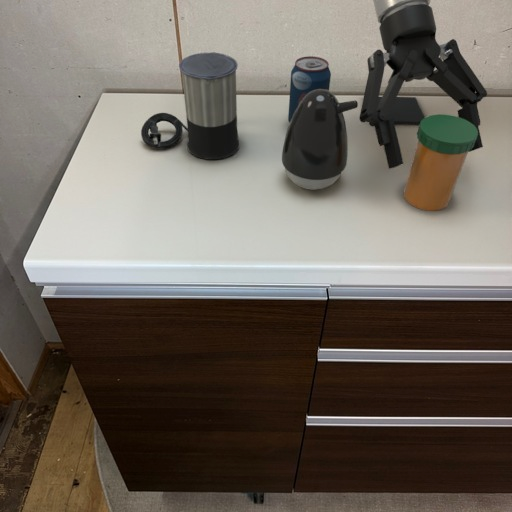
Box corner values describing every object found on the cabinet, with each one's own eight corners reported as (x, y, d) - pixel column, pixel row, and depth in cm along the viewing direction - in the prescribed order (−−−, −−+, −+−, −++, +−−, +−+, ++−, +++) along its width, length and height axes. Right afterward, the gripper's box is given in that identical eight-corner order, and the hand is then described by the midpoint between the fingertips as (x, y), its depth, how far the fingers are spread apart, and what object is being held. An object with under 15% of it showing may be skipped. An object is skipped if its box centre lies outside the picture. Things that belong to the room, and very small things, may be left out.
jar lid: (451, 121, 70) (454, 110, 69) (486, 148, 65) (490, 137, 64) (405, 130, 68) (408, 119, 67) (438, 159, 63) (441, 147, 62)
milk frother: (248, 153, 82) (247, 69, 72) (161, 176, 77) (147, 89, 67) (216, 116, 91) (212, 37, 81) (137, 135, 86) (121, 53, 76)
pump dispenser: (338, 204, 73) (353, 113, 62) (273, 192, 75) (277, 101, 64) (349, 168, 79) (364, 80, 69) (289, 157, 82) (294, 71, 71)
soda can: (300, 139, 86) (306, 74, 77) (280, 122, 90) (284, 59, 82) (331, 129, 88) (340, 66, 80) (311, 114, 92) (317, 51, 84)
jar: (432, 179, 77) (453, 115, 69) (458, 205, 73) (484, 139, 64) (394, 188, 76) (412, 123, 67) (419, 215, 71) (441, 148, 63)
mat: (414, 99, 97) (415, 97, 96) (426, 124, 90) (426, 121, 89) (366, 99, 97) (366, 96, 97) (373, 123, 90) (374, 120, 90)
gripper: (458, 19, 75) (487, 149, 76) (317, 37, 69) (349, 178, 70) (493, -8, 68) (524, 136, 69) (338, 10, 62) (373, 168, 63)
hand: (436, 158), depth 69 cm, fingers open, 13 cm apart
